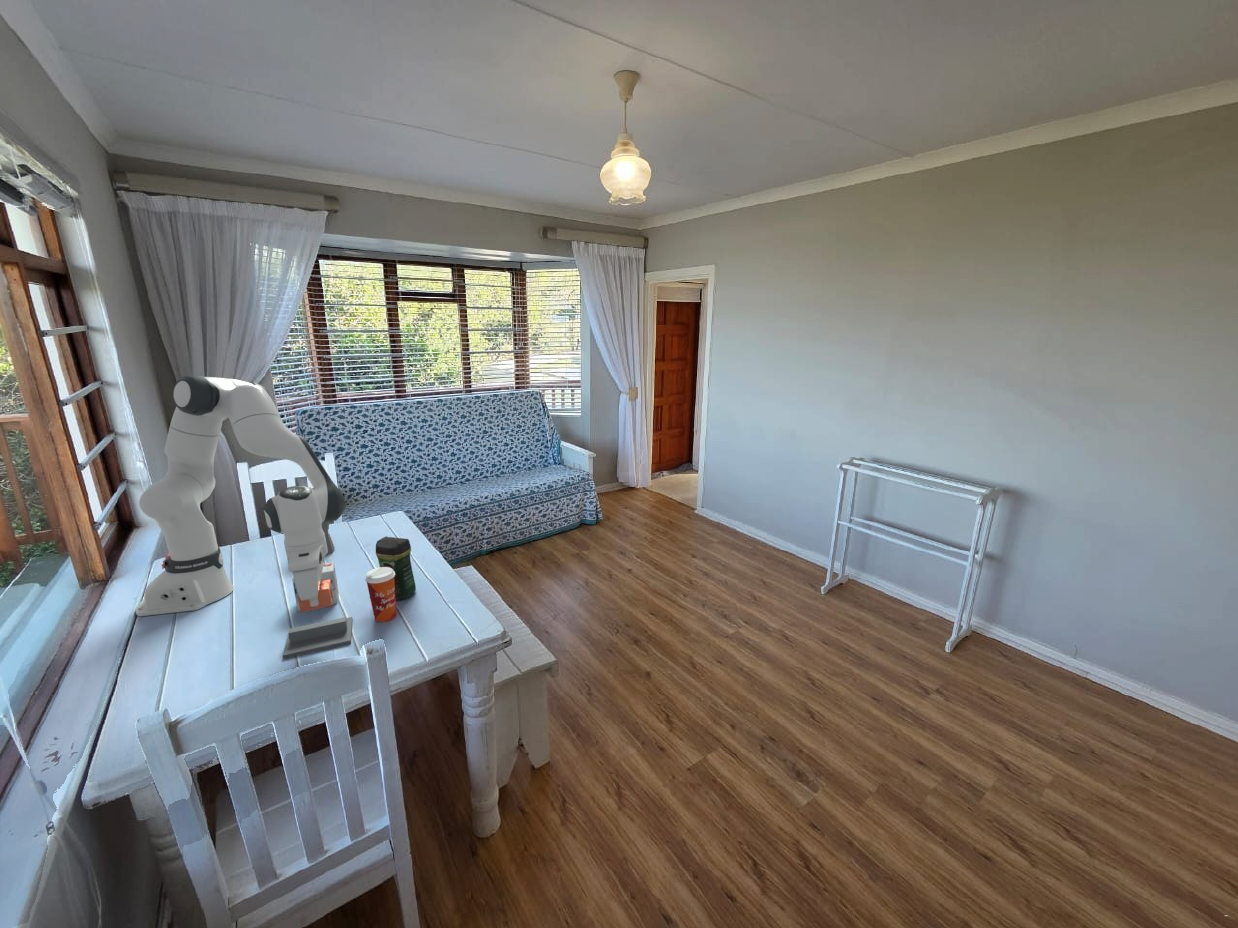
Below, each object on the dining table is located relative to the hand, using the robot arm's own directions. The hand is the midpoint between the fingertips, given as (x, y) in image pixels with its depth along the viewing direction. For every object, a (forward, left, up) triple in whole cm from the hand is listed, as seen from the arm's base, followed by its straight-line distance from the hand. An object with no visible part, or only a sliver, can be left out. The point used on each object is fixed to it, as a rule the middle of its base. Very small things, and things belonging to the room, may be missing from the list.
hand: (316, 598), depth 130 cm
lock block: (0, 0, -2) cm, 2 cm away
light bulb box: (-3, +21, -12) cm, 24 cm away
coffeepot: (-6, +61, -12) cm, 62 cm away
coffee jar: (+19, +16, -12) cm, 28 cm away
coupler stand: (-1, 0, -12) cm, 12 cm away
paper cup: (+15, +4, -12) cm, 20 cm away
